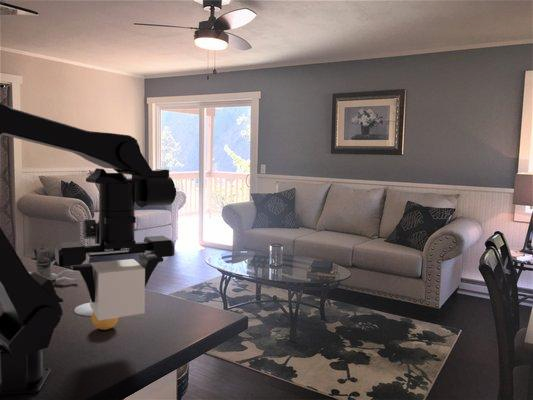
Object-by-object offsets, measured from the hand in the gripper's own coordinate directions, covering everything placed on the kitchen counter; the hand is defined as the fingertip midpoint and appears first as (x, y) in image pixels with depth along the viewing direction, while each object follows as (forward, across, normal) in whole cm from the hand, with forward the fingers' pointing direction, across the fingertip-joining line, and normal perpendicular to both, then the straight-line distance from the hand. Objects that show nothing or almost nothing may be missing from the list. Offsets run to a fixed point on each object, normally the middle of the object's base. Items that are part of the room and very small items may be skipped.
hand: (116, 298), depth 75 cm
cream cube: (+2, 0, 0) cm, 2 cm away
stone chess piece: (+10, +8, -40) cm, 41 cm away
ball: (+7, 0, -11) cm, 13 cm away
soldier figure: (+9, +5, -45) cm, 46 cm away
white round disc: (+9, 0, -23) cm, 24 cm away
